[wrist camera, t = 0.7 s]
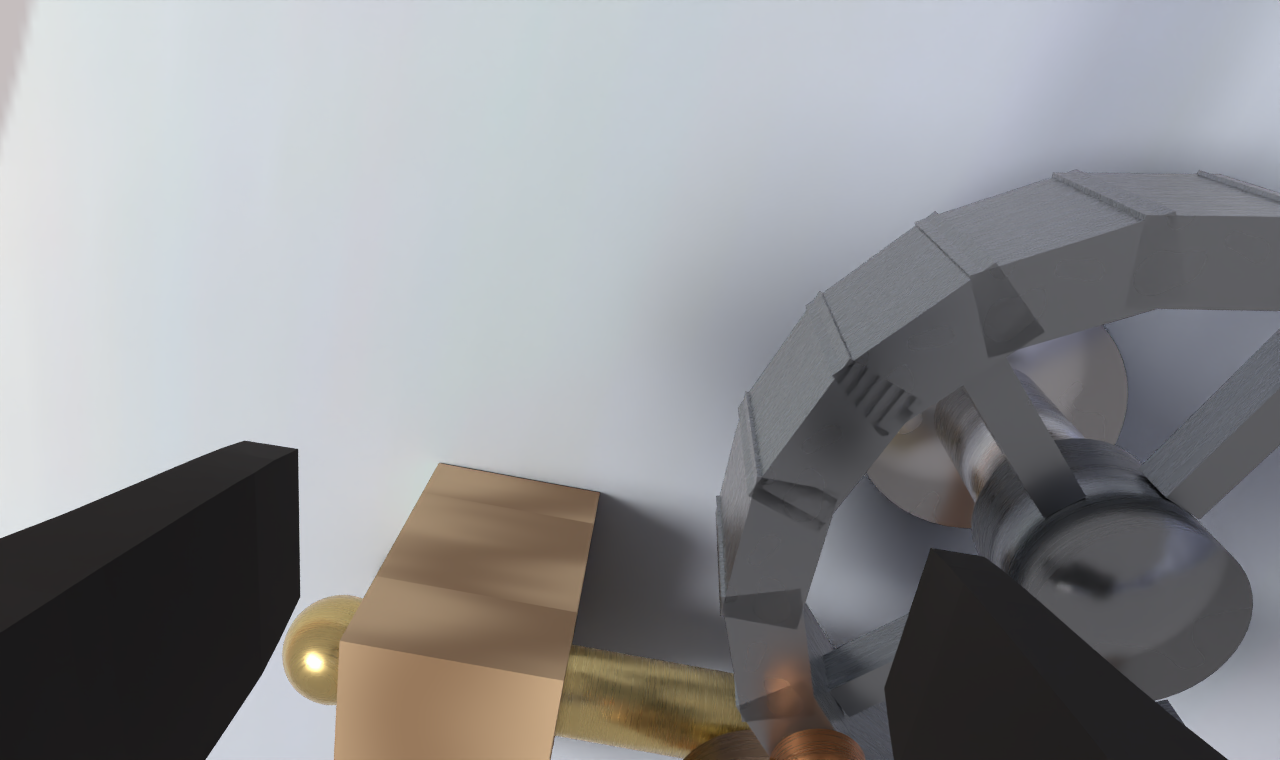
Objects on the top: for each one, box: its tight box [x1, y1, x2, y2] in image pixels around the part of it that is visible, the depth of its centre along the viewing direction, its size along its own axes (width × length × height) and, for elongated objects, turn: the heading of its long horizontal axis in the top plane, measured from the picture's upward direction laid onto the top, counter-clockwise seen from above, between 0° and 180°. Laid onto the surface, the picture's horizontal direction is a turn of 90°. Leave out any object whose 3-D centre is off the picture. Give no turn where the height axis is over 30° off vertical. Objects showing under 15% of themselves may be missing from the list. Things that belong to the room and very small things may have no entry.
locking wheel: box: [716, 169, 1280, 760], centre depth 14 cm, size 10×12×5 cm
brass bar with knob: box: [282, 595, 770, 760], centre depth 18 cm, size 13×4×6 cm, turn 80°
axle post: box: [867, 325, 1128, 528], centre depth 18 cm, size 6×6×4 cm
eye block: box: [334, 463, 600, 760], centre depth 20 cm, size 4×7×6 cm, turn 170°
